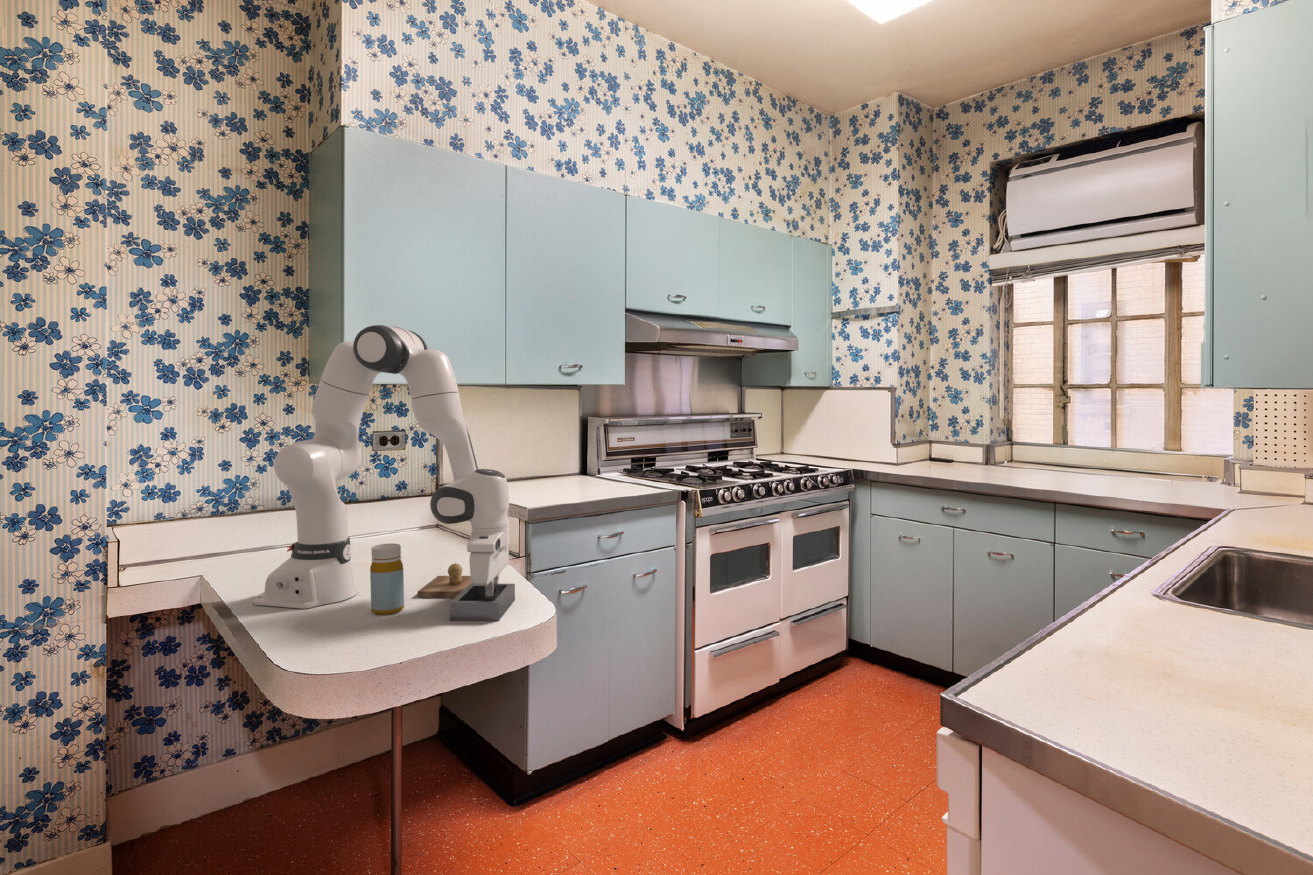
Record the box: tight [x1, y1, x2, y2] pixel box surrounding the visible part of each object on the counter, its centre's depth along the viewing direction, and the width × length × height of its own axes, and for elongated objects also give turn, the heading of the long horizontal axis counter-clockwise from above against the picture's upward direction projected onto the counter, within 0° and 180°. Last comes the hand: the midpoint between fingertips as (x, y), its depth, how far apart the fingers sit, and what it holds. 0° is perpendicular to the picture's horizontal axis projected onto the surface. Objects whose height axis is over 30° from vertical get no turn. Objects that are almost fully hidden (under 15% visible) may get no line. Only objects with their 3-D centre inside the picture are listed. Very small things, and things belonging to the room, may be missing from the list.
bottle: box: [369, 543, 405, 616], centre depth 150 cm, size 7×7×15 cm
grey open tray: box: [449, 583, 516, 622], centre depth 151 cm, size 11×15×4 cm
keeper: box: [417, 562, 472, 599], centre depth 167 cm, size 14×14×7 cm
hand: (491, 593), depth 158 cm, fingers closed on grey open tray
